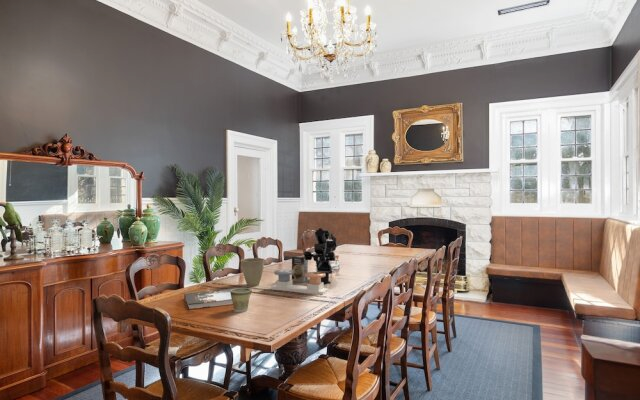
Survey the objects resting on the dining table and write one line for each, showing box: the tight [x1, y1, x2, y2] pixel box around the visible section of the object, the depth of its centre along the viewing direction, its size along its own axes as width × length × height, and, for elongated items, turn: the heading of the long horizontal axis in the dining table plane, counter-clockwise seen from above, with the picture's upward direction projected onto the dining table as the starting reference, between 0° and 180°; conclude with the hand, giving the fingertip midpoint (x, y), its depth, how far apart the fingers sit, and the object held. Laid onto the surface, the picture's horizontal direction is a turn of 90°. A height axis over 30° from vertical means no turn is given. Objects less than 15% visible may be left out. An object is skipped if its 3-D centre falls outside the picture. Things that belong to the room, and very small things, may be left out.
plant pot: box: [240, 257, 266, 287], centre depth 257 cm, size 15×15×16 cm
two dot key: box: [273, 268, 294, 282], centre depth 246 cm, size 12×12×6 cm
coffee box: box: [291, 255, 309, 283], centre depth 268 cm, size 9×6×16 cm
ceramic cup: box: [229, 287, 253, 313], centre depth 202 cm, size 13×10×10 cm
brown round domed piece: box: [305, 271, 326, 285], centre depth 238 cm, size 12×12×6 cm
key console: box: [270, 279, 330, 295], centre depth 242 cm, size 34×9×5 cm, turn 67°
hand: (317, 267), depth 243 cm, fingers closed
